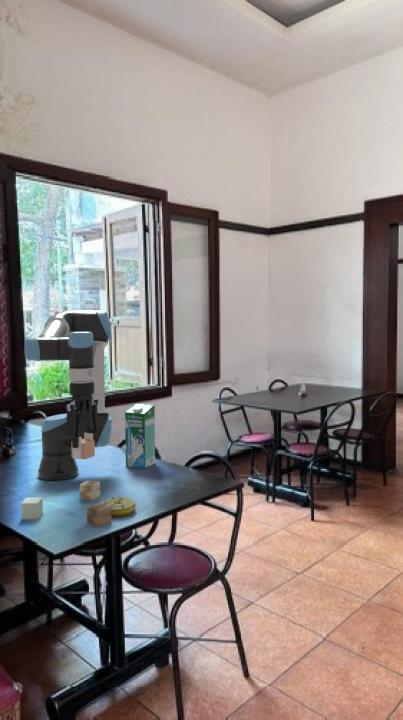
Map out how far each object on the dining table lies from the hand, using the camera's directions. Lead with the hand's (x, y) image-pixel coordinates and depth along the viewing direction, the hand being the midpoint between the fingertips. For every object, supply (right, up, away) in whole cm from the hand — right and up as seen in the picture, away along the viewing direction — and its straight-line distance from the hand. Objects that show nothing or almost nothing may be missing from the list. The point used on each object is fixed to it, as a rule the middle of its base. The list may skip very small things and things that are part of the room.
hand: (83, 455), depth 160 cm
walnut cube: (+7, -18, -8) cm, 21 cm away
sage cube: (-15, -18, -3) cm, 24 cm away
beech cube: (-1, -17, +14) cm, 22 cm away
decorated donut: (+11, -18, +1) cm, 21 cm away
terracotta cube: (0, 0, 0) cm, 0 cm away
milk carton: (+12, -14, +53) cm, 56 cm away
